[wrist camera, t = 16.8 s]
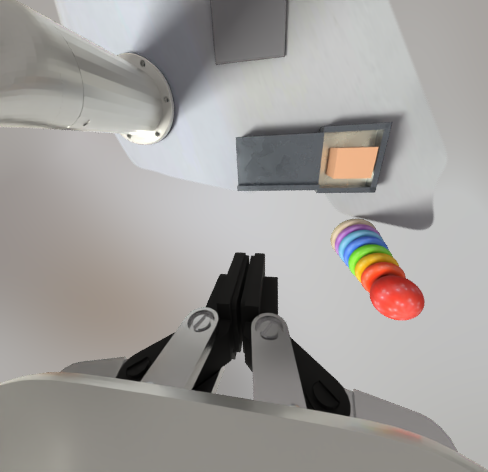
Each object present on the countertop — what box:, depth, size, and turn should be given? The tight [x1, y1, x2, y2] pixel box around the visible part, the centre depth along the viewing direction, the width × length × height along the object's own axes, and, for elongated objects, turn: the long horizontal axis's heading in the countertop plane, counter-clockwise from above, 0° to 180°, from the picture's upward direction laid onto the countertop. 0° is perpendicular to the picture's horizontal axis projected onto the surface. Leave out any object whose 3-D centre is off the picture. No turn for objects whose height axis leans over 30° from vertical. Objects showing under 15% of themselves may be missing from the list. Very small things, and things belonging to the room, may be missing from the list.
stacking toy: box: [331, 219, 424, 320], centre depth 29 cm, size 8×8×19 cm
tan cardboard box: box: [326, 147, 379, 179], centre depth 29 cm, size 5×4×5 cm
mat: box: [211, 0, 286, 65], centre depth 26 cm, size 10×8×1 cm
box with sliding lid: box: [236, 122, 392, 193], centre depth 31 cm, size 22×10×4 cm, turn 92°
